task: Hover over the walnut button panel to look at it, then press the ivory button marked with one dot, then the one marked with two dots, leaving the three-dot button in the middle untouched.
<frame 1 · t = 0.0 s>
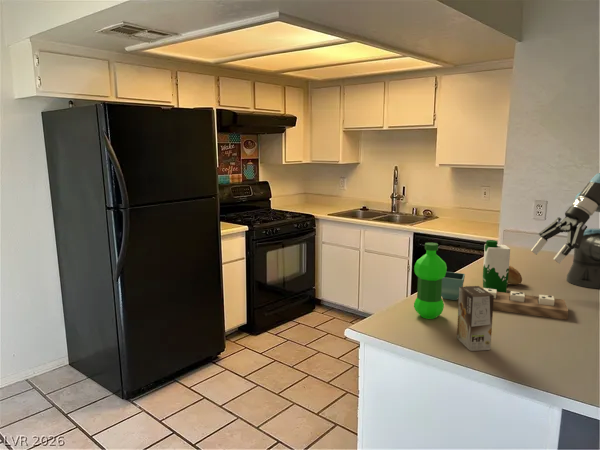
hand: (544, 256, 164), 15 cm above the counter, tool tilted 35°, fingers open, 13 cm apart
button three: (517, 298, 154), point 3 cm above the counter, slide at 0.0 cm
flower pot: (450, 298, 165), on the counter
button one: (489, 294, 158), point 3 cm above the counter, slide at 0.0 cm
button panel: (516, 307, 155), on the counter
button two: (546, 301, 150), point 3 cm above the counter, slide at 0.0 cm
coffee box: (472, 344, 126), on the counter
bread roll: (501, 283, 183), on the counter
milk carton: (494, 290, 174), on the counter
plastic bottle: (428, 316, 147), on the counter
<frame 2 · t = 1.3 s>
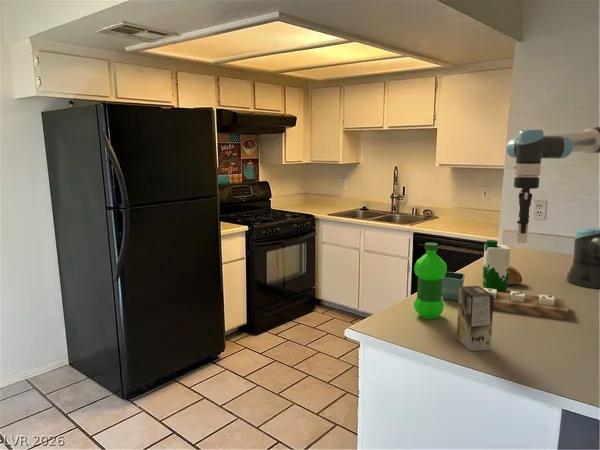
hand: (521, 239, 151), 25 cm above the counter, tool pointing down, fingers open, 11 cm apart
nothing on the counter moved.
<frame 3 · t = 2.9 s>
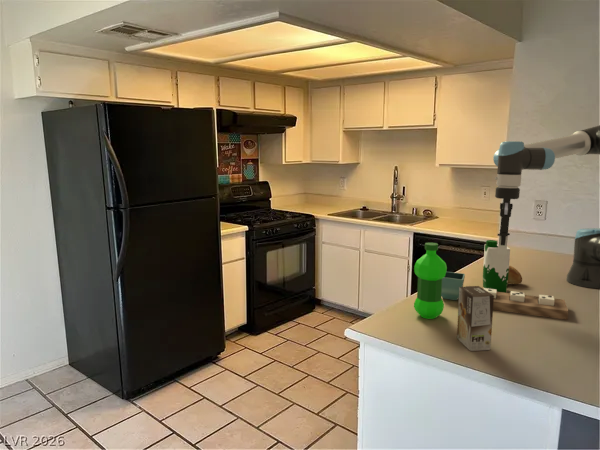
hand: (501, 253, 154), 19 cm above the counter, tool pointing down, fingers closed
nothing on the counter moved.
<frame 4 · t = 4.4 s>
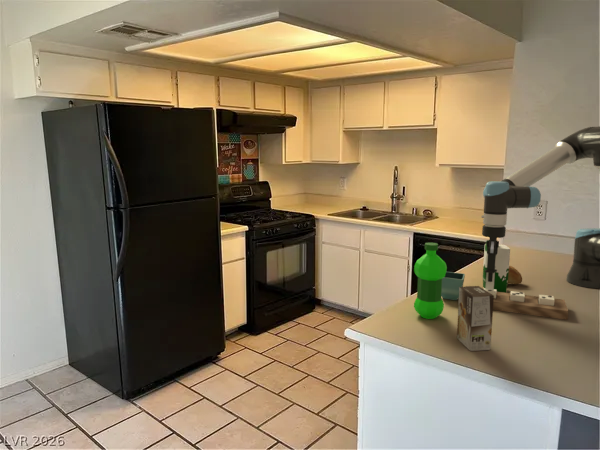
hand: (489, 289, 158), 5 cm above the counter, tool pointing down, fingers closed
button one: (489, 294, 158), point 3 cm above the counter, slide at 0.0 cm, touching gripper
everything else where it was.
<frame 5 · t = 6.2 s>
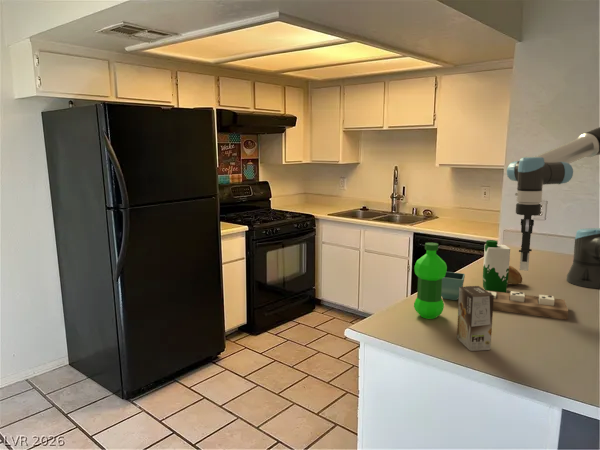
hand: (523, 269, 152), 14 cm above the counter, tool pointing down, fingers closed
button one: (489, 297, 158), point 2 cm above the counter, slide at 1.1 cm
everything else where it was.
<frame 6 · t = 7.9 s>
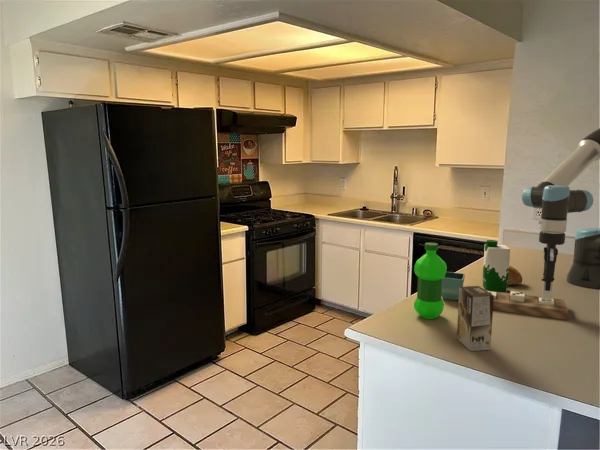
hand: (546, 298, 150), 4 cm above the counter, tool pointing down, fingers closed
button two: (545, 304, 150), point 2 cm above the counter, slide at 1.0 cm, touching gripper
everything else where it was.
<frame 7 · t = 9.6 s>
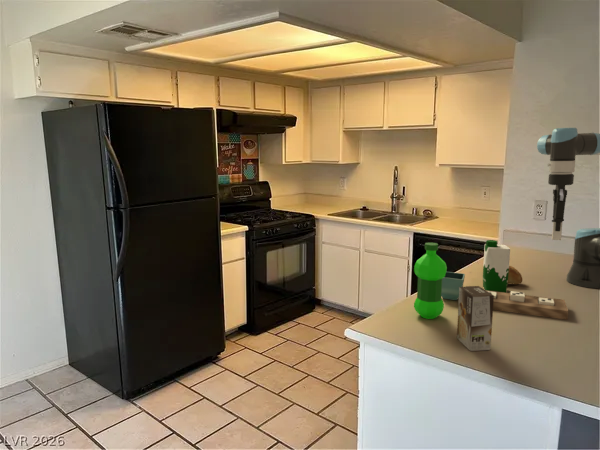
hand: (556, 239, 155), 24 cm above the counter, tool pointing down, fingers closed
button two: (545, 304, 150), point 2 cm above the counter, slide at 1.1 cm
everything else where it was.
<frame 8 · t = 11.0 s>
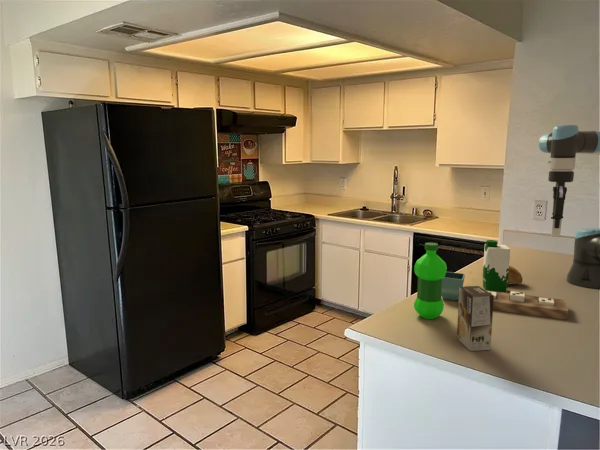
hand: (555, 236, 156), 24 cm above the counter, tool pointing down, fingers closed
nothing on the counter moved.
at the end: button one slide at 1.1 cm; button two slide at 1.1 cm; button three slide at 0.0 cm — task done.
